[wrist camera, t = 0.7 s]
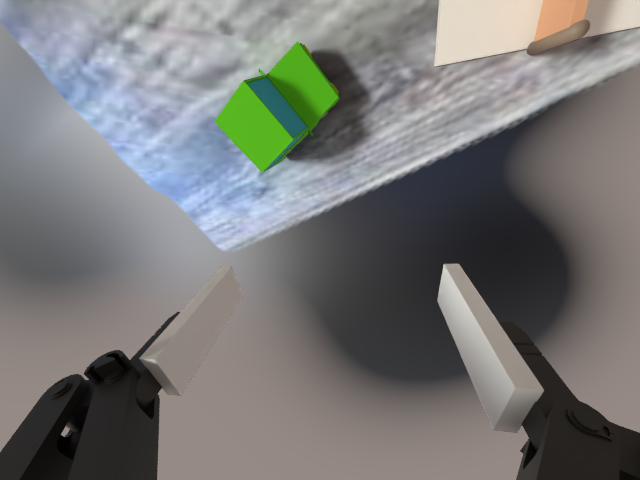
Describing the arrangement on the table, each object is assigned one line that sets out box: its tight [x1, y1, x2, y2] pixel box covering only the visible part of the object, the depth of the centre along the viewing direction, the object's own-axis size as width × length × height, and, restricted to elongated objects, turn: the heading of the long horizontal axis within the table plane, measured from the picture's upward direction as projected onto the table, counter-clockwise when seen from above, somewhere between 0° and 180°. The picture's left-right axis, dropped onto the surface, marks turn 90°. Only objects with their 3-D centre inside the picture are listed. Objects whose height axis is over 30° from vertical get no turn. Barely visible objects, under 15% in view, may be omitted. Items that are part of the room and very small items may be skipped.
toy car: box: [214, 42, 340, 173], centre depth 30 cm, size 10×13×10 cm
